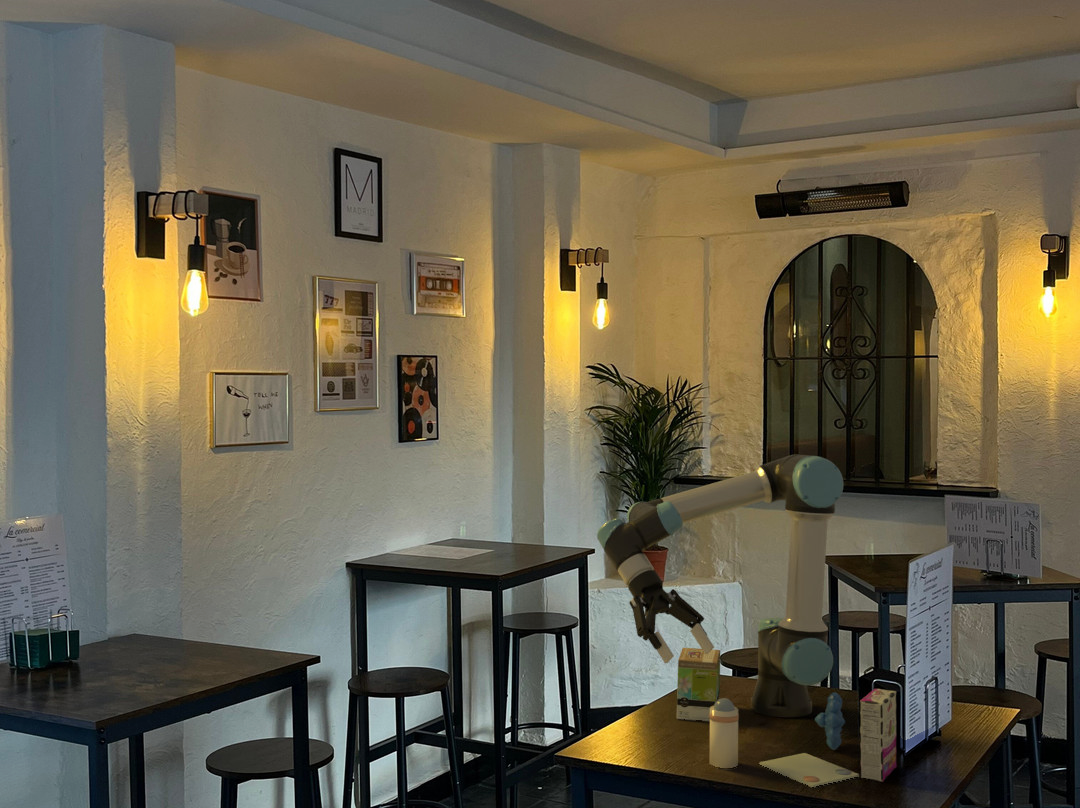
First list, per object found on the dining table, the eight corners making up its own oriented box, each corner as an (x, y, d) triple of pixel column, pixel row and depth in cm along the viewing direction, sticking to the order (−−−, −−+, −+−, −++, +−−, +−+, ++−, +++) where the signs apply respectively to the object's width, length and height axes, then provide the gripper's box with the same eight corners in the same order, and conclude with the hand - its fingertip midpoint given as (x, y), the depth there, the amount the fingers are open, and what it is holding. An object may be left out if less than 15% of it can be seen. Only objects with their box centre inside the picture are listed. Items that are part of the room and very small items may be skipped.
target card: (804, 755, 247) (804, 751, 247) (859, 777, 234) (859, 773, 234) (759, 765, 241) (759, 761, 241) (812, 787, 227) (812, 783, 227)
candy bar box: (873, 763, 242) (874, 687, 242) (897, 767, 240) (897, 690, 240) (858, 778, 233) (859, 699, 233) (882, 782, 230) (883, 703, 230)
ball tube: (725, 758, 245) (726, 693, 245) (744, 766, 240) (744, 700, 240) (703, 762, 242) (703, 697, 242) (721, 771, 237) (722, 703, 237)
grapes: (816, 737, 261) (816, 686, 260) (846, 740, 259) (846, 688, 258) (812, 752, 249) (813, 698, 249) (844, 756, 247) (844, 701, 247)
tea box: (717, 722, 272) (717, 661, 272) (675, 720, 274) (676, 659, 274) (720, 706, 287) (720, 648, 287) (680, 703, 289) (681, 646, 289)
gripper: (668, 582, 270) (716, 656, 259) (594, 594, 253) (642, 673, 242) (685, 563, 266) (735, 637, 255) (611, 573, 249) (661, 653, 238)
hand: (690, 655), depth 248 cm, fingers open, 13 cm apart
